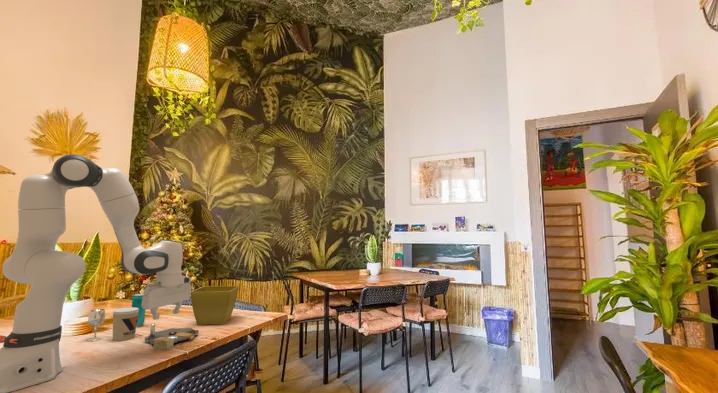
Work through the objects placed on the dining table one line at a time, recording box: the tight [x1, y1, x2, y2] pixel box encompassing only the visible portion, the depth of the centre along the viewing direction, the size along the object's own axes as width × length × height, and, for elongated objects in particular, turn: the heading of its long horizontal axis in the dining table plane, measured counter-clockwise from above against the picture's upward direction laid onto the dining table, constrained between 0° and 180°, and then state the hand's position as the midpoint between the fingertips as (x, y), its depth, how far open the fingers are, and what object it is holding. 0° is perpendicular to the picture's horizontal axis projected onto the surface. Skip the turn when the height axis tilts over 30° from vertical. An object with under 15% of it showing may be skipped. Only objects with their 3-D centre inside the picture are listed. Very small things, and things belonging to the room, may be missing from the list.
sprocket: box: [144, 323, 199, 345], centre depth 141 cm, size 20×20×6 cm
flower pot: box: [190, 285, 240, 326], centre depth 170 cm, size 19×19×17 cm
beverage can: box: [131, 293, 146, 328], centre depth 161 cm, size 6×6×15 cm
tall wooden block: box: [152, 337, 175, 352], centre depth 129 cm, size 4×6×4 cm, turn 79°
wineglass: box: [87, 308, 106, 342], centre depth 140 cm, size 6×6×12 cm
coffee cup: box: [112, 306, 139, 342], centre depth 142 cm, size 9×9×12 cm
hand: (166, 316), depth 130 cm, fingers open, 8 cm apart
